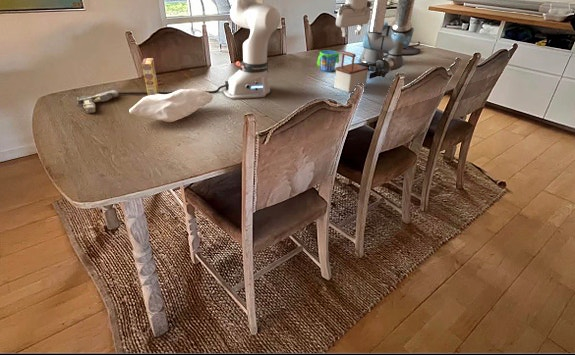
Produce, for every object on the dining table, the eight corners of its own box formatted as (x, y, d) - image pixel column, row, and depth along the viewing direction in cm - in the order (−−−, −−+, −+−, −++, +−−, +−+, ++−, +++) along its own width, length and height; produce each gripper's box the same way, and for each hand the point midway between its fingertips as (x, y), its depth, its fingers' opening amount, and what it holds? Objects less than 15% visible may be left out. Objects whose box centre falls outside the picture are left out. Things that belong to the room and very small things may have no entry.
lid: (349, 74, 174) (351, 55, 169) (334, 69, 180) (336, 51, 175) (368, 69, 182) (371, 51, 178) (353, 65, 188) (355, 47, 183)
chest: (348, 92, 179) (350, 74, 175) (334, 87, 185) (335, 69, 180) (365, 87, 187) (368, 69, 182) (351, 82, 193) (353, 65, 188)
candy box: (157, 97, 164) (152, 63, 155) (147, 98, 163) (141, 63, 155) (158, 91, 171) (153, 57, 163) (149, 91, 170) (143, 58, 162)
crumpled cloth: (117, 110, 146) (113, 90, 140) (195, 92, 166) (194, 73, 160) (143, 139, 134) (140, 118, 128) (223, 116, 154) (224, 96, 148)
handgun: (128, 97, 156) (111, 87, 164) (86, 107, 144) (70, 97, 152) (129, 103, 157) (113, 94, 165) (88, 114, 146) (72, 103, 154)
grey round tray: (430, 51, 257) (433, 37, 253) (397, 56, 240) (399, 42, 235) (392, 44, 282) (394, 31, 277) (360, 48, 264) (361, 35, 260)
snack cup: (332, 66, 217) (333, 48, 212) (343, 70, 210) (345, 52, 204) (311, 69, 210) (312, 51, 204) (322, 74, 202) (324, 55, 197)
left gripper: (345, 5, 155) (341, 39, 162) (374, 2, 166) (369, 34, 174) (334, 3, 158) (331, 36, 166) (363, 1, 170) (359, 32, 178)
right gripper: (401, 78, 192) (378, 86, 180) (363, 67, 207) (339, 74, 195) (404, 64, 188) (380, 71, 176) (365, 54, 203) (341, 59, 191)
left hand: (350, 35), depth 170 cm, fingers open, 8 cm apart
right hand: (359, 72), depth 185 cm, fingers open, 13 cm apart
